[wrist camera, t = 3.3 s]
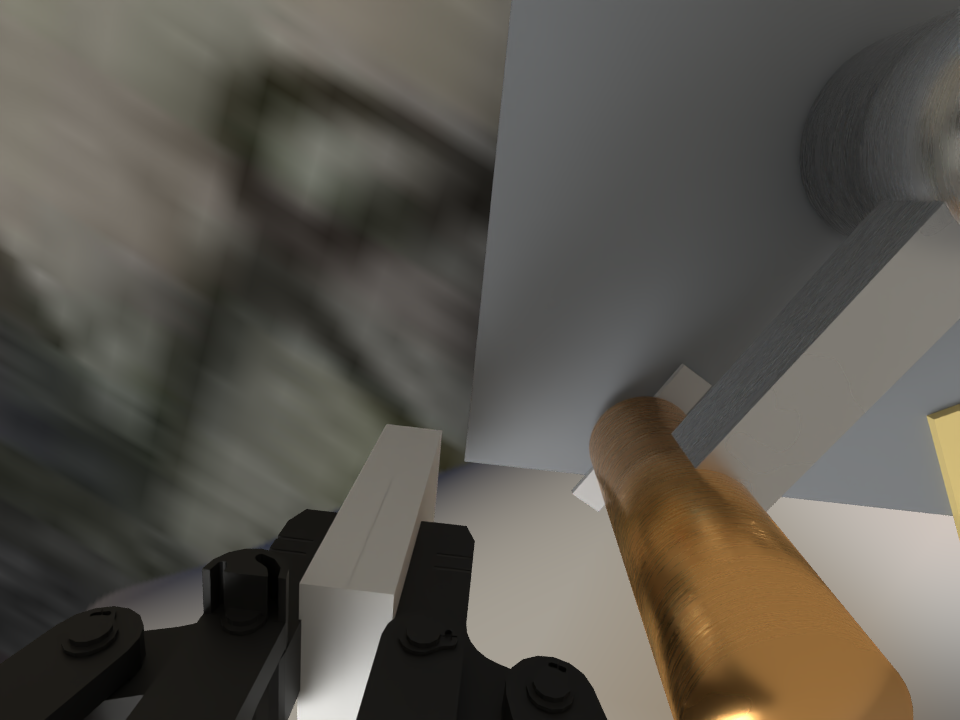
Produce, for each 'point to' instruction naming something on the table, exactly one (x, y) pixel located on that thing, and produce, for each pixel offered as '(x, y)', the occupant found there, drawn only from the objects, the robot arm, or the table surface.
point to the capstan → (797, 410)
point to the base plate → (676, 232)
